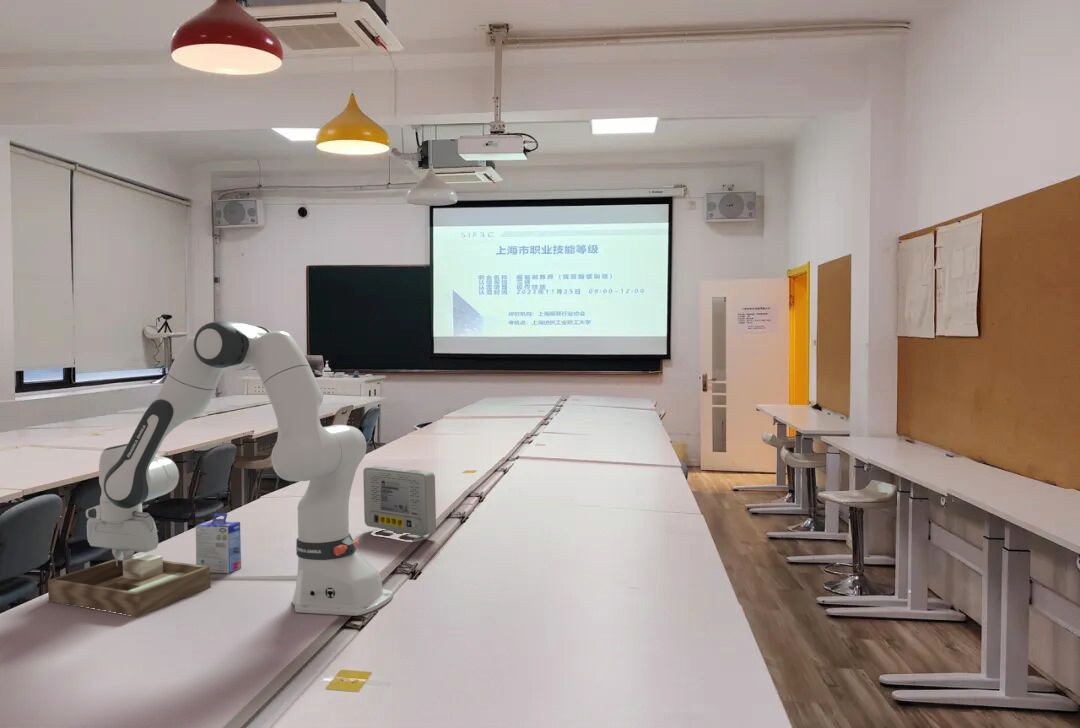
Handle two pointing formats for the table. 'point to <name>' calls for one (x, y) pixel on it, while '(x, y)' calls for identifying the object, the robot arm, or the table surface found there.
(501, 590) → the table surface
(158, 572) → the block
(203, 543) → the ink cartridge box
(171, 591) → the box
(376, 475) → the network device
